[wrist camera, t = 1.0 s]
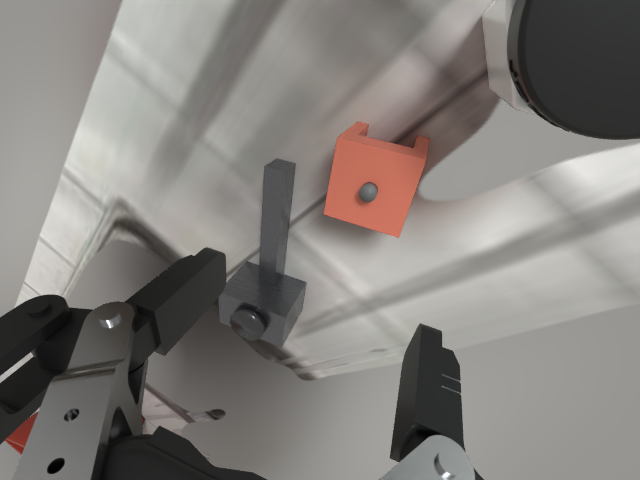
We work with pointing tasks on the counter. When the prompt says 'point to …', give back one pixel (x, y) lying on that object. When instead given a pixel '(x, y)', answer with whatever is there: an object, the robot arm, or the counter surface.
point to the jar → (568, 62)
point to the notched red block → (374, 180)
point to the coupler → (267, 270)
